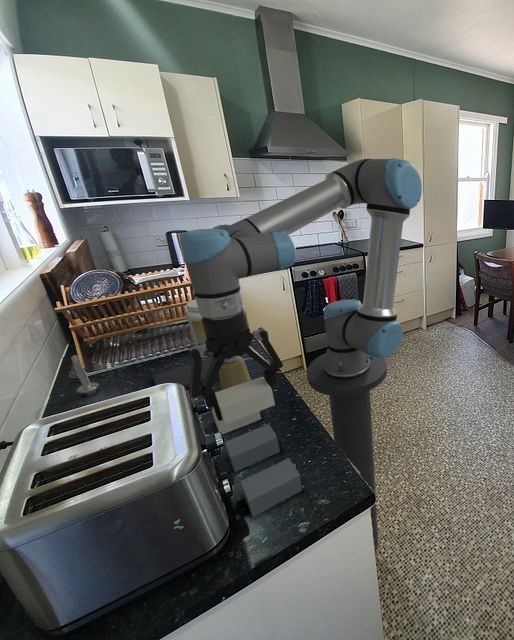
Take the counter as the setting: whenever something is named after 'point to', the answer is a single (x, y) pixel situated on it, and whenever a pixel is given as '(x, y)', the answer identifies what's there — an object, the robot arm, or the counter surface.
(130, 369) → the counter surface
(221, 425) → the beige rectangular block
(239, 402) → the tan rectangular block
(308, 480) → the counter surface
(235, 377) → the squeeze bottle
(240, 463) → the grey block
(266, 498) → the grey beveled block
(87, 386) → the screw
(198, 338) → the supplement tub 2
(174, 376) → the notebook
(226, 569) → the counter surface
